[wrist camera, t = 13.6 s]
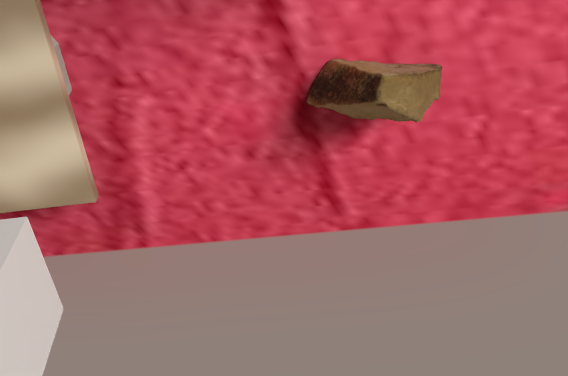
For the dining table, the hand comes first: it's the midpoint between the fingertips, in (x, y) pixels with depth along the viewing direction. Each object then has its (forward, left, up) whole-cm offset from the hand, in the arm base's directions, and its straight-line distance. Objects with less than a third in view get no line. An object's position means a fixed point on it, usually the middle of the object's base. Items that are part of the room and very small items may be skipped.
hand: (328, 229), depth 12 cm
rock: (+10, +10, -33) cm, 36 cm away
